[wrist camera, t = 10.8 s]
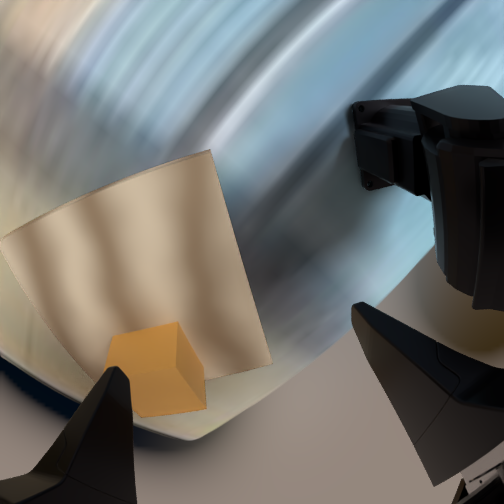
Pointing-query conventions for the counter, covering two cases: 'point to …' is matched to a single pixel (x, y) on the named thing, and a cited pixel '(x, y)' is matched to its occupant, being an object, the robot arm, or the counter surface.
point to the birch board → (143, 268)
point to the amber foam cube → (159, 370)
